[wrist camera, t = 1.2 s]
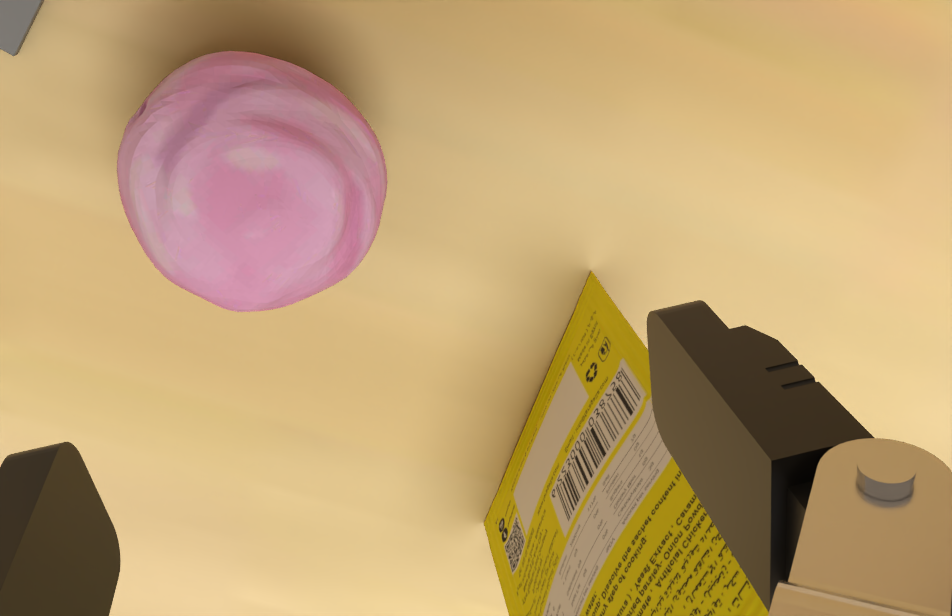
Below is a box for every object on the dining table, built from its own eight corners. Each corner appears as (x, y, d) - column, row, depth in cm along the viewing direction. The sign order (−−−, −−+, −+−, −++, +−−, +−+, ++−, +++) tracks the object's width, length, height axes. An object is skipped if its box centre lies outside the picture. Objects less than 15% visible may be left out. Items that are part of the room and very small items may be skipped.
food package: (492, 524, 47) (608, 914, 30) (473, 520, 47) (578, 914, 29) (600, 272, 42) (822, 574, 24) (579, 267, 41) (788, 568, 24)
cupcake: (409, 99, 36) (444, 175, 27) (307, 268, 39) (310, 387, 30) (206, -23, 33) (173, 20, 24) (109, 171, 35) (47, 274, 27)
